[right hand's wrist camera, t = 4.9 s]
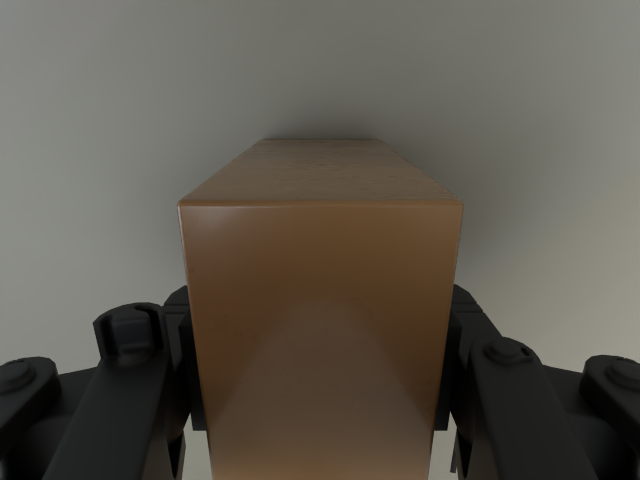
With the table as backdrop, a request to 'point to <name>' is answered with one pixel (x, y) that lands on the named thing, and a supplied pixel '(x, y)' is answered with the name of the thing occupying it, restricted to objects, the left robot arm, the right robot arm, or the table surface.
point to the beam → (320, 310)
